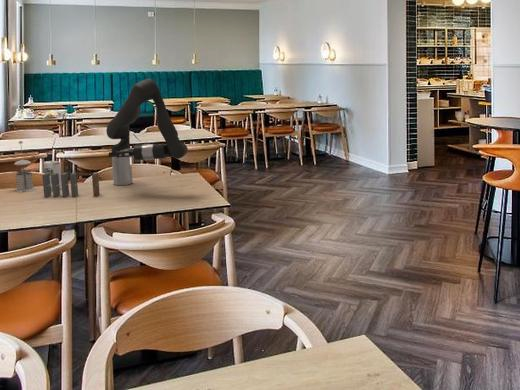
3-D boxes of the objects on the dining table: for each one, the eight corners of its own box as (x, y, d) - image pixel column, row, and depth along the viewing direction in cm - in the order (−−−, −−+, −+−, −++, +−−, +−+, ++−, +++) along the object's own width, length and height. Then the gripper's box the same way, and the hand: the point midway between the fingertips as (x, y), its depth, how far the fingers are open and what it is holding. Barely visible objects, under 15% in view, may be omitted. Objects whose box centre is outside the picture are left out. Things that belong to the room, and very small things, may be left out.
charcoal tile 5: (51, 195, 273) (49, 173, 271) (48, 197, 268) (46, 174, 266) (47, 195, 273) (45, 173, 271) (44, 197, 268) (42, 174, 266)
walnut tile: (99, 194, 274) (98, 172, 272) (97, 196, 270) (95, 174, 267) (95, 194, 274) (94, 172, 272) (93, 196, 270) (91, 174, 267)
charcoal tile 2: (78, 194, 274) (76, 172, 272) (75, 196, 269) (73, 174, 267) (74, 194, 274) (72, 172, 271) (71, 197, 269) (69, 174, 267)
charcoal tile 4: (60, 195, 274) (58, 172, 271) (57, 197, 269) (55, 174, 266) (56, 195, 273) (54, 172, 271) (53, 197, 269) (51, 174, 266)
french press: (34, 187, 293) (30, 139, 288) (36, 191, 283) (32, 141, 278) (14, 188, 289) (9, 140, 284) (15, 193, 279) (10, 142, 274)
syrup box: (45, 190, 285) (42, 161, 282) (54, 188, 290) (52, 160, 287) (53, 191, 283) (50, 162, 279) (62, 189, 288) (60, 161, 285)
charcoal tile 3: (69, 194, 274) (67, 172, 271) (66, 197, 269) (64, 174, 267) (65, 194, 274) (63, 172, 271) (62, 197, 269) (60, 174, 266)
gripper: (148, 142, 273) (116, 144, 275) (139, 145, 259) (105, 147, 261) (149, 158, 274) (117, 159, 276) (141, 161, 260) (107, 163, 262)
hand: (112, 153), depth 268 cm, fingers open, 8 cm apart
